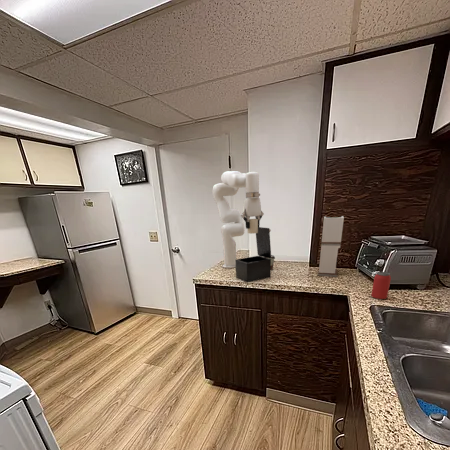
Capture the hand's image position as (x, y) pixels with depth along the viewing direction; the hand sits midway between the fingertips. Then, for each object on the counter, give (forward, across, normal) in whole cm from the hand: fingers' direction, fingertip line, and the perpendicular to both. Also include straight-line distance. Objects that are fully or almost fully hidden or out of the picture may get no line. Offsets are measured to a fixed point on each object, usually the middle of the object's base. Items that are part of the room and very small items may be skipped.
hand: (252, 227), depth 150 cm
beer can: (+32, -30, +65) cm, 78 cm away
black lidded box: (+31, 0, 0) cm, 31 cm away
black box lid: (+10, -8, 0) cm, 12 cm away
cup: (+3, 0, 0) cm, 3 cm away
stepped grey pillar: (+32, -42, +23) cm, 58 cm away
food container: (+32, -18, -11) cm, 38 cm away
